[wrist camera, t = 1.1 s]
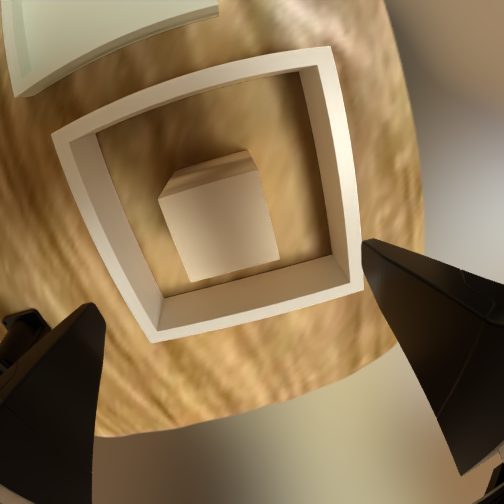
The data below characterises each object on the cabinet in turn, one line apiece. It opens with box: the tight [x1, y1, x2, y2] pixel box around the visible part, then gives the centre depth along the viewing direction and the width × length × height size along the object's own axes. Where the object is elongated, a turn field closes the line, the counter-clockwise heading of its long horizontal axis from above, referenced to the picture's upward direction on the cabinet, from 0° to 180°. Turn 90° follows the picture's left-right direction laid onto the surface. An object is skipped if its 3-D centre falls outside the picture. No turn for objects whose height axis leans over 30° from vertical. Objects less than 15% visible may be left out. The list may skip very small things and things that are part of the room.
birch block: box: [157, 150, 280, 282], centre depth 17 cm, size 5×5×6 cm
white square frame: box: [51, 46, 364, 343], centre depth 18 cm, size 16×16×4 cm
